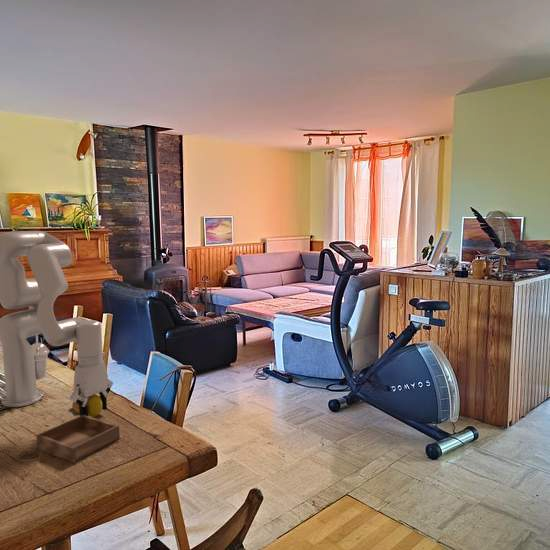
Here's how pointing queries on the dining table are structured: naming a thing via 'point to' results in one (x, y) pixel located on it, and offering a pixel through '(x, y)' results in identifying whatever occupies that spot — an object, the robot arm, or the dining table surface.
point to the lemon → (94, 405)
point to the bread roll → (76, 406)
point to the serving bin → (78, 438)
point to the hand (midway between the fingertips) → (93, 412)
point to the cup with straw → (40, 358)
